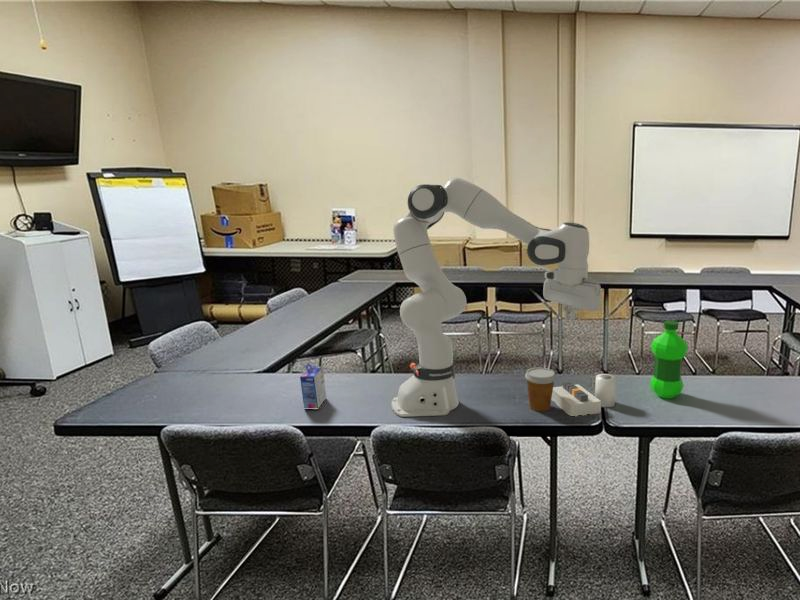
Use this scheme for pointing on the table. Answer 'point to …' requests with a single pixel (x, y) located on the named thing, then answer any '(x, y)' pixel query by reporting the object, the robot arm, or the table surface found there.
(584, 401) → the power strip
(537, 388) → the disposable coffee cup
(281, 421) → the table surface
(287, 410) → the table surface
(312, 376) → the ink cartridge box
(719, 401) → the table surface
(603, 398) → the white hollow cylinder
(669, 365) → the plastic bottle
